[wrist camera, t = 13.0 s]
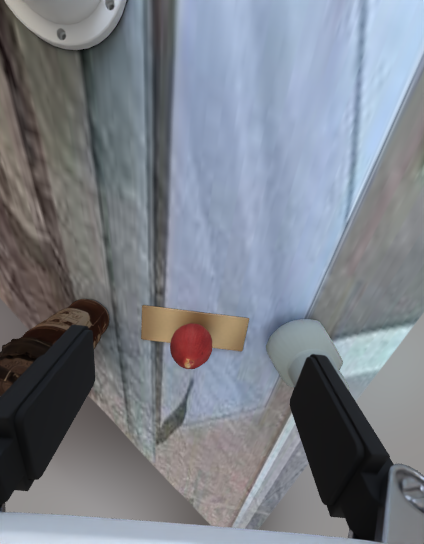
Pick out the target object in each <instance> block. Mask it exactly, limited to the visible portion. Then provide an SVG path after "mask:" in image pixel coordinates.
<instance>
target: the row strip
mask: <svg viewBox="0 0 424 544" xmlns="http://www.w3.org/2000/svg"><path fill="white" fill-rule="evenodd" d="M190 323H193V324H199V325H201V326H203V327H204V328H205V329H206V330H207V331H208V332H209V333H210V335H211V338H212V348H219V349H227V350H236V351H242V350H243V345H244V341H245V336H246V332H247V327H248V323H249V318H243V317H235V316H227V315H219V314H211V313H203V312H195V311H187V310H179V309H170V308H162V307H154V306H146V305H143V306H142V335H141V339H143V340H152V341H160V342H168V343H171V338H172V336H173V334H174V332H175V331H176V330H177V329H178V328H180V327H181V326H183V325H186V324H190Z"/></svg>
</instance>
